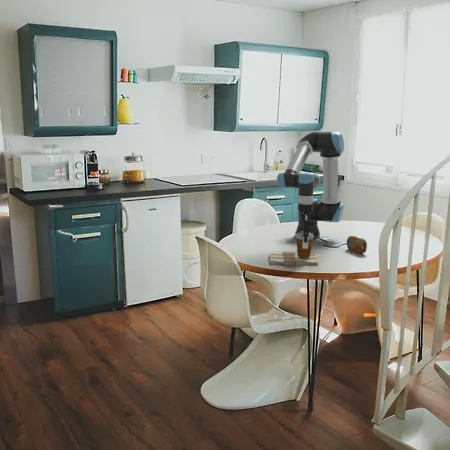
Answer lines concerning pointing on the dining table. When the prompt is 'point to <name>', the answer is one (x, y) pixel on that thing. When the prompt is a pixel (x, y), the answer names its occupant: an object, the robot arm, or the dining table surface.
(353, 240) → the tin
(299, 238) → the disposable coffee cup
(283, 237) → the dining table surface
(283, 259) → the board
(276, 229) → the dining table surface
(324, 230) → the dining table surface
